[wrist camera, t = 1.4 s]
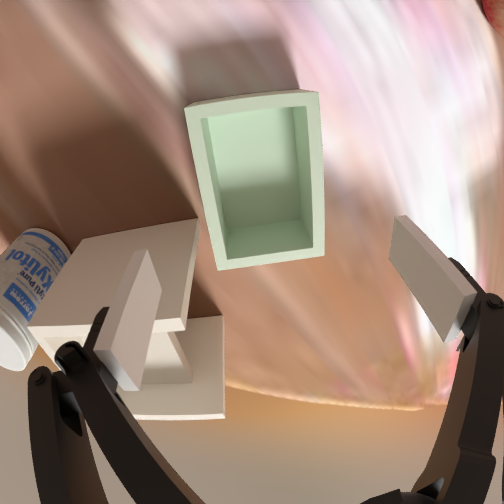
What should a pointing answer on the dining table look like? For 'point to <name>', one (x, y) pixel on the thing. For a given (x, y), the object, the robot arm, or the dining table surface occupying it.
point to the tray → (260, 175)
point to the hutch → (165, 325)
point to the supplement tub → (26, 290)
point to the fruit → (495, 14)
